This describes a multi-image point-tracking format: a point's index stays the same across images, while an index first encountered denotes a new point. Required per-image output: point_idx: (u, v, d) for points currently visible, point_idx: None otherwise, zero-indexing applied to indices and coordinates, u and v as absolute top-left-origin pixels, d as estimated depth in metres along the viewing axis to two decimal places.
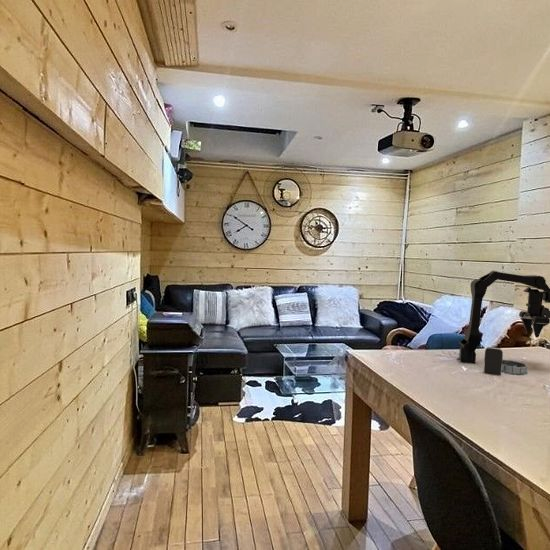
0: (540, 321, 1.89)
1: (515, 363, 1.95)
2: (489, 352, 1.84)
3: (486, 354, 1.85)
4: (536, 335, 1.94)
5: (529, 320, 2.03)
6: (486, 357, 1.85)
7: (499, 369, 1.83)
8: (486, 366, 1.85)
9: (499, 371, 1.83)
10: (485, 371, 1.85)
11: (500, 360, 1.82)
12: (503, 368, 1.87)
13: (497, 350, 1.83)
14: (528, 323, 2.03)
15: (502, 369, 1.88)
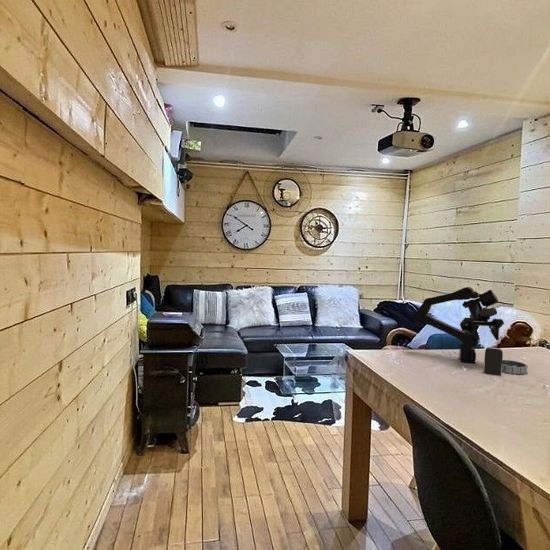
0: (462, 324, 1.95)
1: (515, 363, 1.95)
2: (489, 352, 1.84)
3: (486, 354, 1.85)
4: (476, 338, 1.90)
5: (493, 328, 1.94)
6: (486, 357, 1.85)
7: (499, 369, 1.83)
8: (486, 366, 1.85)
9: (499, 371, 1.83)
10: (485, 371, 1.85)
11: (500, 360, 1.82)
12: (503, 368, 1.87)
13: (497, 350, 1.83)
14: (494, 330, 1.94)
15: (502, 369, 1.88)
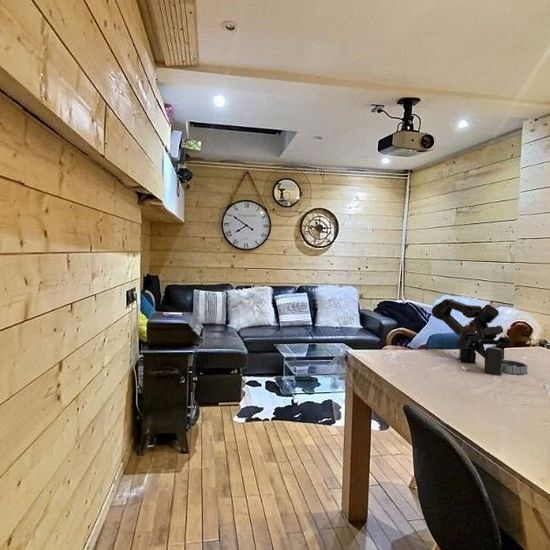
0: (467, 344, 1.89)
1: (515, 363, 1.95)
2: (490, 352, 1.84)
3: None
4: (484, 357, 1.84)
5: (499, 346, 1.88)
6: None
7: (499, 369, 1.83)
8: (486, 366, 1.85)
9: (499, 371, 1.83)
10: (485, 371, 1.85)
11: (500, 360, 1.82)
12: (503, 368, 1.87)
13: (497, 350, 1.83)
14: None
15: (502, 369, 1.88)
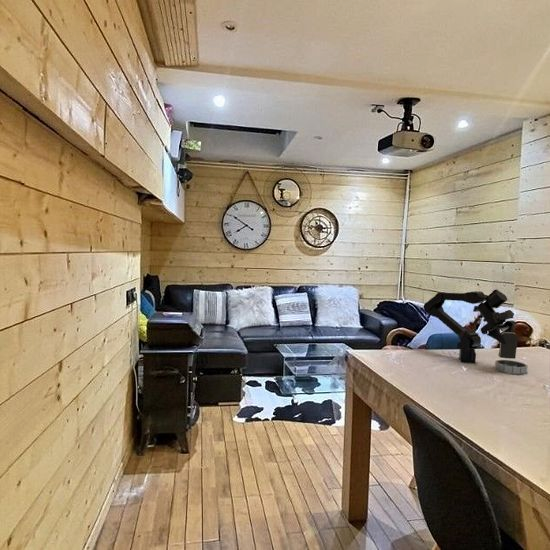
0: (484, 330, 1.87)
1: (515, 363, 1.95)
2: (506, 337, 1.85)
3: None
4: (502, 342, 1.85)
5: (507, 330, 1.91)
6: None
7: (514, 353, 1.86)
8: (503, 351, 1.86)
9: (514, 355, 1.86)
10: (501, 356, 1.86)
11: (515, 344, 1.85)
12: (503, 368, 1.87)
13: (513, 334, 1.85)
14: None
15: (502, 369, 1.88)
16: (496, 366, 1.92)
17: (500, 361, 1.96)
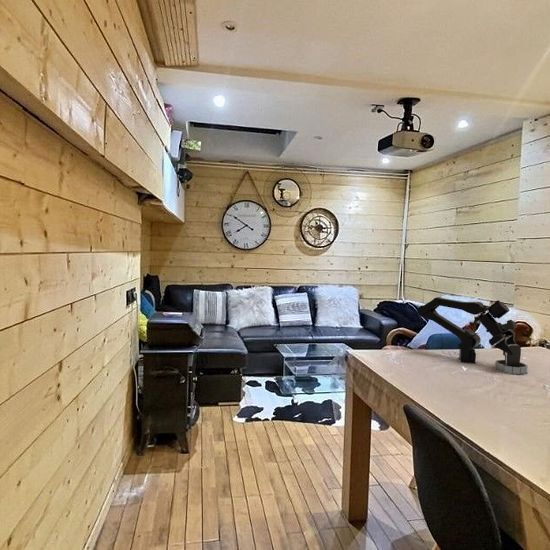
0: (493, 342, 1.87)
1: None
2: (512, 350, 1.88)
3: None
4: (509, 353, 1.87)
5: (509, 339, 1.96)
6: (509, 355, 1.88)
7: (518, 364, 1.89)
8: (509, 363, 1.88)
9: (518, 366, 1.90)
10: None
11: (519, 355, 1.89)
12: (503, 368, 1.87)
13: (517, 346, 1.89)
14: (510, 342, 1.95)
15: (502, 369, 1.88)
16: (496, 366, 1.92)
17: (500, 361, 1.96)
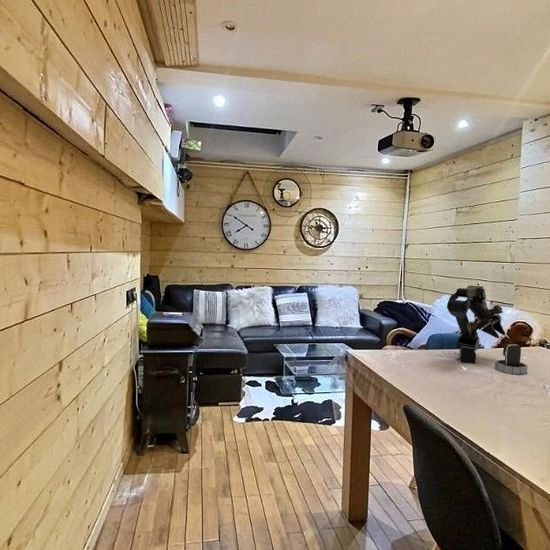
0: (480, 326, 1.97)
1: None
2: (512, 350, 1.88)
3: (509, 352, 1.88)
4: (496, 336, 1.97)
5: (496, 324, 2.06)
6: (509, 355, 1.88)
7: (518, 364, 1.89)
8: (509, 363, 1.88)
9: (518, 366, 1.90)
10: None
11: (519, 355, 1.89)
12: (503, 368, 1.87)
13: (517, 346, 1.89)
14: (497, 326, 2.06)
15: (502, 369, 1.88)
16: (496, 366, 1.92)
17: (500, 361, 1.96)
